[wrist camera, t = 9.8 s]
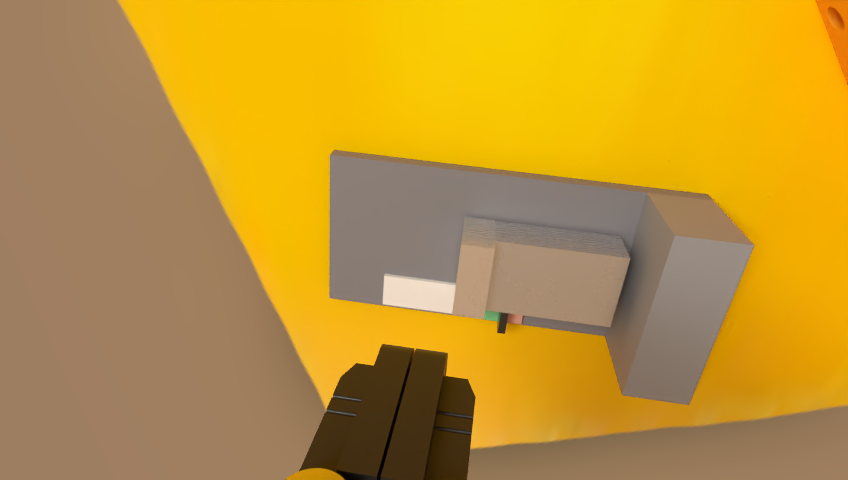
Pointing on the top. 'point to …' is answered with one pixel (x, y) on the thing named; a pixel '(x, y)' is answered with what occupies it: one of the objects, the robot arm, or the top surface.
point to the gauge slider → (538, 273)
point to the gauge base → (550, 207)
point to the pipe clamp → (837, 28)
